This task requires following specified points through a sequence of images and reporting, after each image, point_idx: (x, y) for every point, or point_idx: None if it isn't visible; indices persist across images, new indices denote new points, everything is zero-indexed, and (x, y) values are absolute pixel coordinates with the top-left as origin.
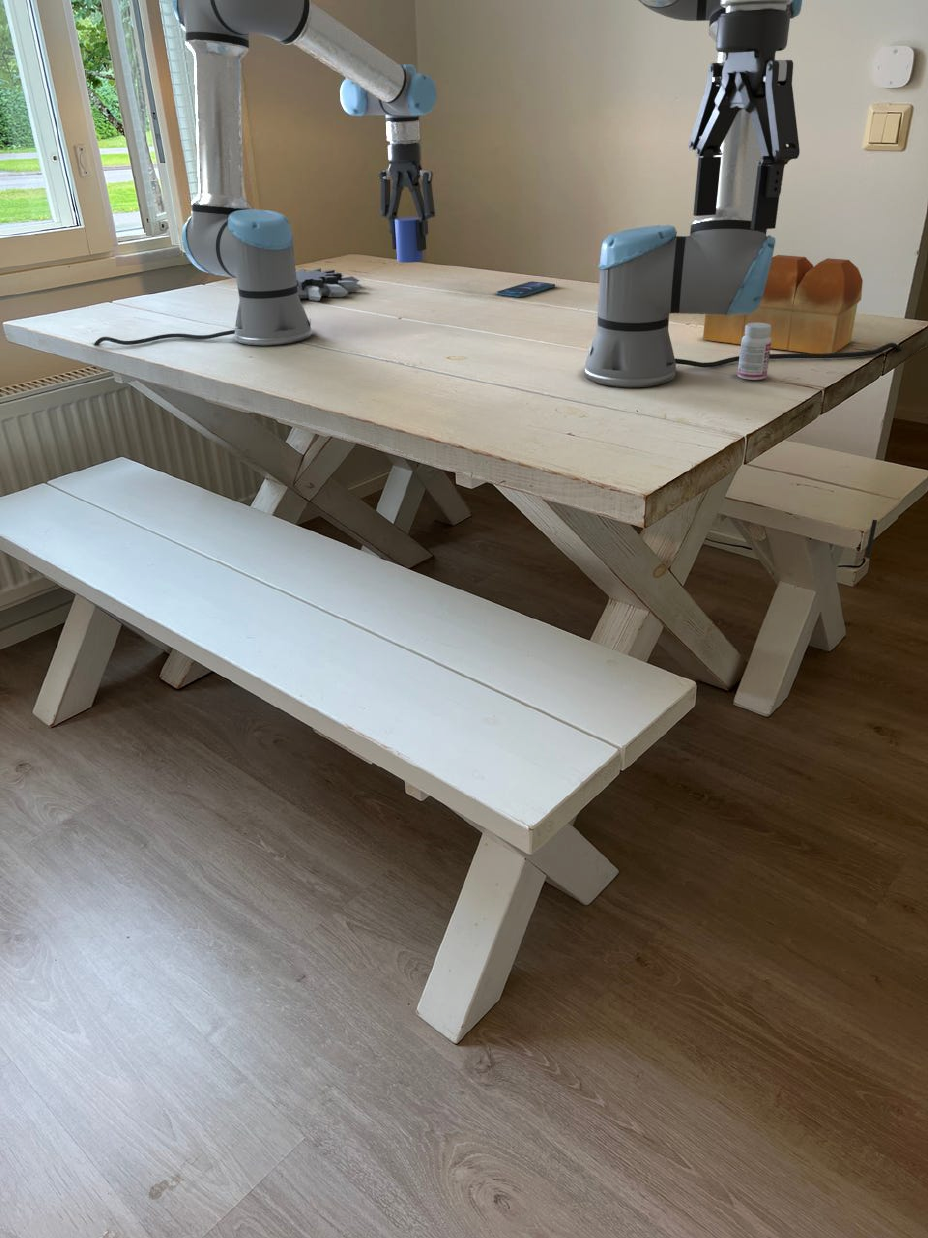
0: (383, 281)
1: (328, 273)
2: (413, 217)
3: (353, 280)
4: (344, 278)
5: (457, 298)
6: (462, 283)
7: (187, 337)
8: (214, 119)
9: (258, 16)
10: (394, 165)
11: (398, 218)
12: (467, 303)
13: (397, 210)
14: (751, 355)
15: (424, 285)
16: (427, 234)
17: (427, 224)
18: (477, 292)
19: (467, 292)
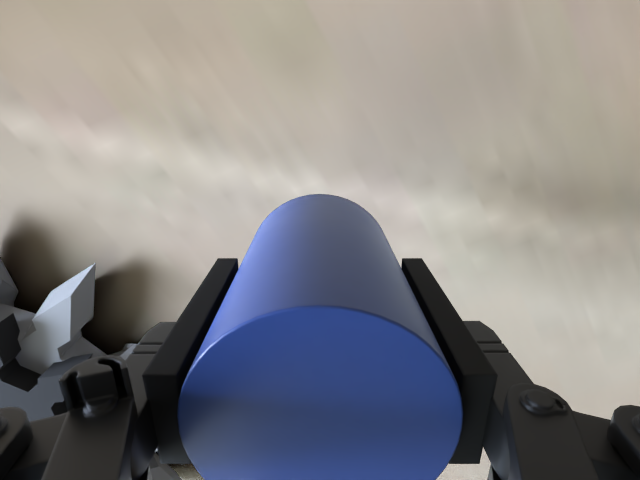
0: (116, 133)
1: (37, 392)
2: (326, 347)
3: (89, 290)
4: (74, 329)
5: (559, 305)
6: (479, 35)
7: None
8: None
9: None
10: None
11: (215, 445)
12: (614, 353)
13: (128, 470)
14: None
15: (335, 145)
16: (480, 326)
17: (522, 377)
18: (604, 192)
19: (564, 206)
